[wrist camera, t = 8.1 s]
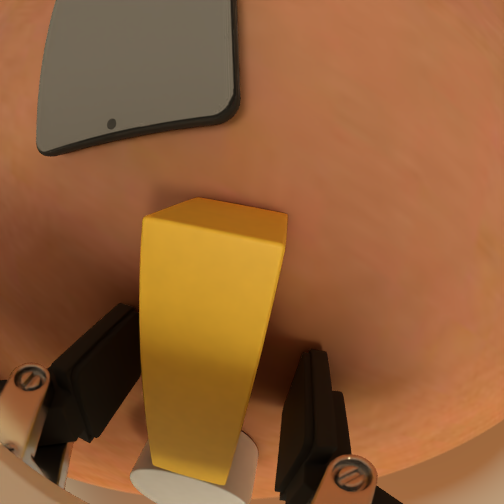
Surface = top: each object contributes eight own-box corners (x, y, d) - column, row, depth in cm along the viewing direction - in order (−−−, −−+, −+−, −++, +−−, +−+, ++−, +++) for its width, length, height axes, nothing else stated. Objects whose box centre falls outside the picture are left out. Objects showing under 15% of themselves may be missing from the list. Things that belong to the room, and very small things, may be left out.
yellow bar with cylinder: (248, 479, 12) (239, 527, 9) (157, 455, 12) (137, 499, 9) (331, 223, 8) (356, 259, 5) (157, 190, 8) (90, 205, 5)
